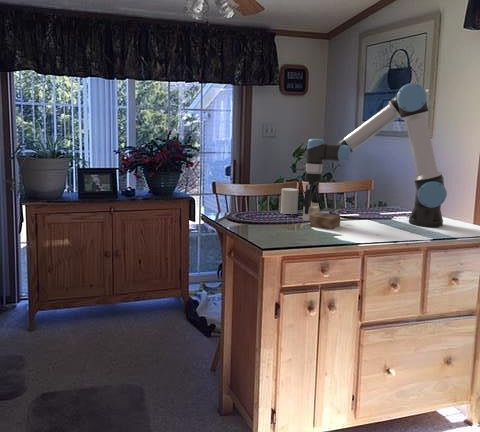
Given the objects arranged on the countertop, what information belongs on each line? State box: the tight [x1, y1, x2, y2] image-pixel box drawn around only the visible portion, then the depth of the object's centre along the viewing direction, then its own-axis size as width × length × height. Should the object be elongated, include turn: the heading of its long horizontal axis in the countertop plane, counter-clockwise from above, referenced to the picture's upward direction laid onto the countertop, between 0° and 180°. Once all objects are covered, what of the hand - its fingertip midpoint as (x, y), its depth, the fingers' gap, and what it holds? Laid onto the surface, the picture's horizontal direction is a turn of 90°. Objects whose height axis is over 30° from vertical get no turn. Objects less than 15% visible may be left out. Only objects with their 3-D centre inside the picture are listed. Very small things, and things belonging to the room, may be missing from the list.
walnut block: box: [309, 212, 341, 230], centre depth 237 cm, size 10×10×5 cm
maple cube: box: [302, 204, 320, 220], centre depth 251 cm, size 6×6×6 cm
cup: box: [280, 187, 300, 216], centre depth 262 cm, size 8×8×12 cm
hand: (310, 218), depth 252 cm, fingers open, 12 cm apart
